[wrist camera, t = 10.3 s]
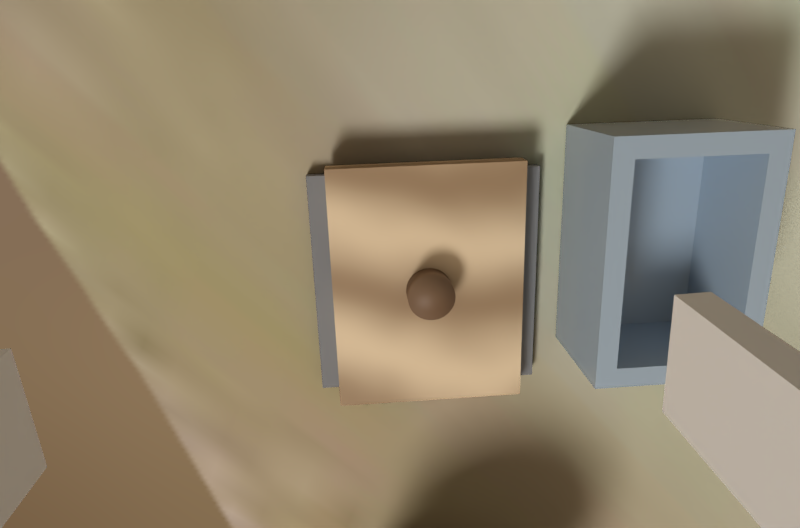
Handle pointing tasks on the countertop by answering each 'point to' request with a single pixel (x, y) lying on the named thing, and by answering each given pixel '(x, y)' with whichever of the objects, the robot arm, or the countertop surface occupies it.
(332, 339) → the mat
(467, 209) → the lid
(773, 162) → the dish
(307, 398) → the countertop surface
